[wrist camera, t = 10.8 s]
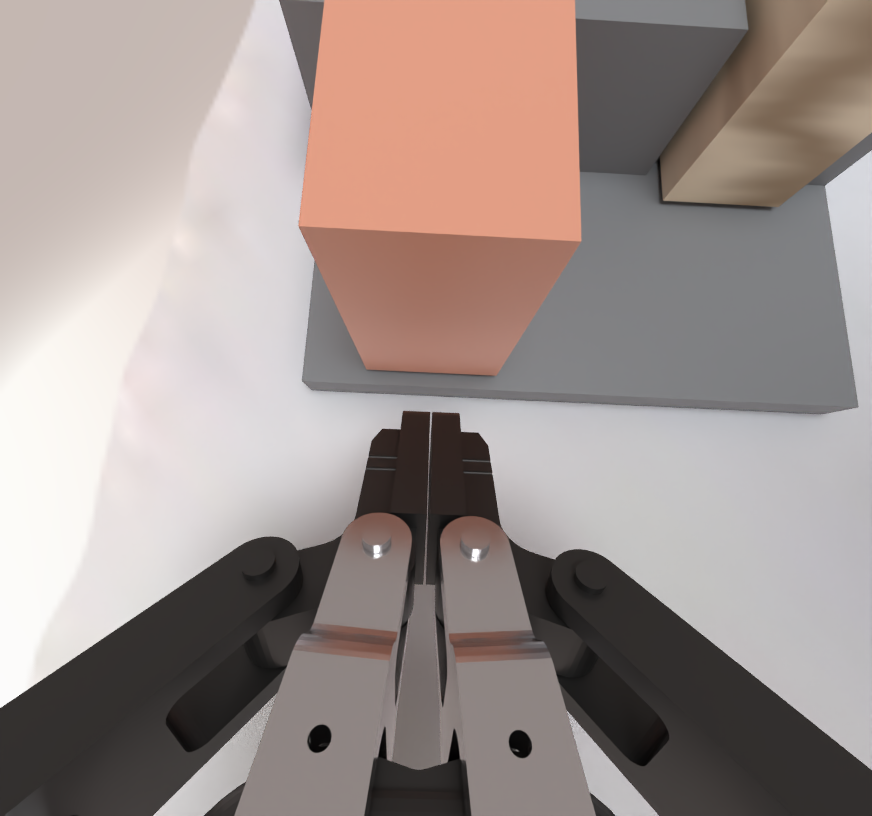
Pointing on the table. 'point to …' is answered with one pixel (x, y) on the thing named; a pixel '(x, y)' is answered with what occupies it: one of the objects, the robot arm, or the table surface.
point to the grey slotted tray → (646, 249)
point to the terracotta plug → (442, 174)
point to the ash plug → (777, 106)
